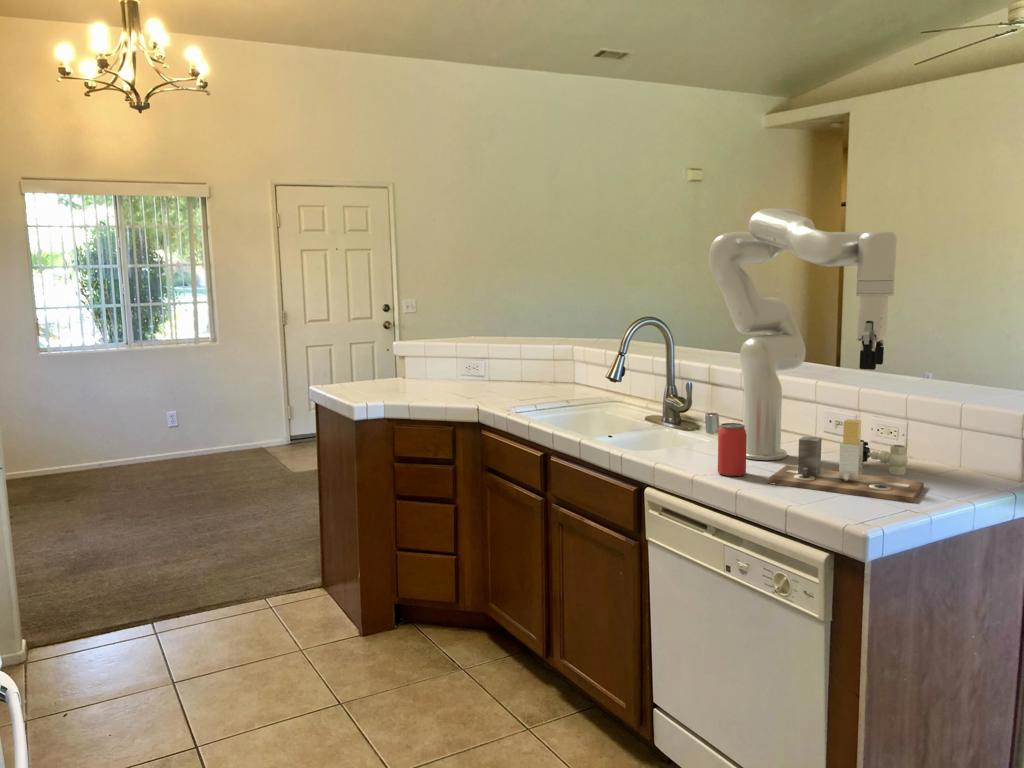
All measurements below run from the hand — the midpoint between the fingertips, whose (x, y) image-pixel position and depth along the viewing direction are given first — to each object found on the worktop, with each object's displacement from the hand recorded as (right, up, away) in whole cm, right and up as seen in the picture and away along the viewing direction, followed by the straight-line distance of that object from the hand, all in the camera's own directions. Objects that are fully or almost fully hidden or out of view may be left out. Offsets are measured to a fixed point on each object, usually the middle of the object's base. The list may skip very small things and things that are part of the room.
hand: (871, 366), depth 175 cm
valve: (+10, -25, +16) cm, 31 cm away
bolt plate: (-5, -27, +3) cm, 27 cm away
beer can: (-27, -26, +15) cm, 40 cm away
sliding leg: (-4, -25, +2) cm, 25 cm away
